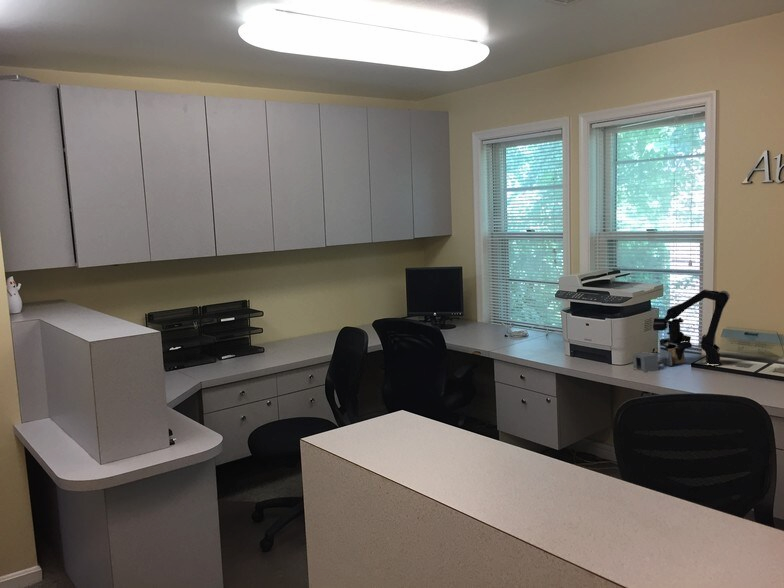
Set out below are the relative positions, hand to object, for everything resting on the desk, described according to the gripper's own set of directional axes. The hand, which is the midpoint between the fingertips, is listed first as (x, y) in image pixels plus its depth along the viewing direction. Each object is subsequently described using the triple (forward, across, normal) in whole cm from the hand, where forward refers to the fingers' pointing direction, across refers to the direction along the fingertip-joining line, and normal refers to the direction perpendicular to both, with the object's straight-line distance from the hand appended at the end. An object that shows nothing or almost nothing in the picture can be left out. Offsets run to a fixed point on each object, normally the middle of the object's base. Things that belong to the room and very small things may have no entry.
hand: (676, 359), depth 345 cm
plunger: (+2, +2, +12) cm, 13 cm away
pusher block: (+2, 0, 0) cm, 2 cm away
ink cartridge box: (+3, +32, -7) cm, 33 cm away
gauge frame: (+3, +2, +14) cm, 14 cm away
